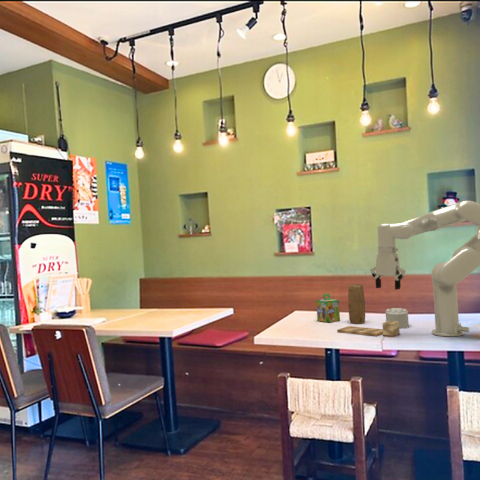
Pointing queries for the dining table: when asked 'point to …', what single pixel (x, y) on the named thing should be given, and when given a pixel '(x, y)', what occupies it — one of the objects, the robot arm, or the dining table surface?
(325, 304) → the chalk box
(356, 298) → the block
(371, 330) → the board
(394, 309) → the lumpy-topped squat cylinder
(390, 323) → the block
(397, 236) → the robot arm
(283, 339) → the dining table surface
